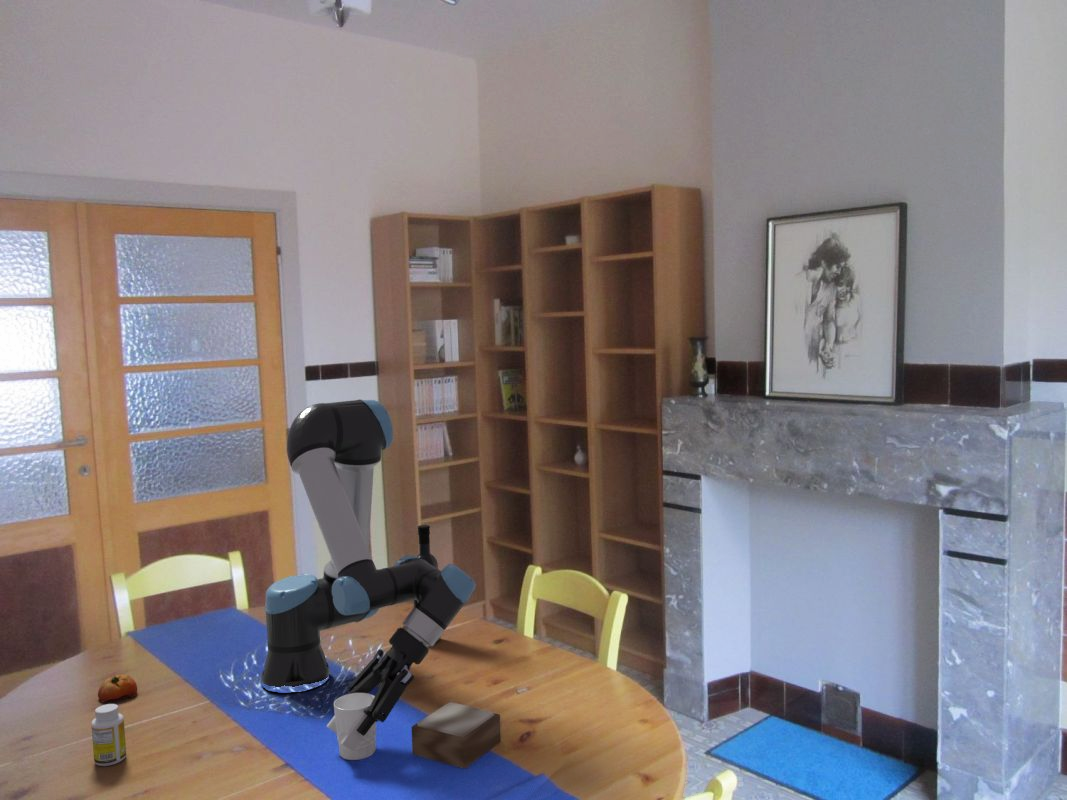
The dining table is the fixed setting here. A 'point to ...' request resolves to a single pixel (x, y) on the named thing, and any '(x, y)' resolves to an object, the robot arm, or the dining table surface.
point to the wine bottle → (425, 550)
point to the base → (456, 734)
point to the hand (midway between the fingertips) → (339, 738)
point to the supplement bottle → (108, 735)
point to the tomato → (117, 688)
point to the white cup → (346, 717)
